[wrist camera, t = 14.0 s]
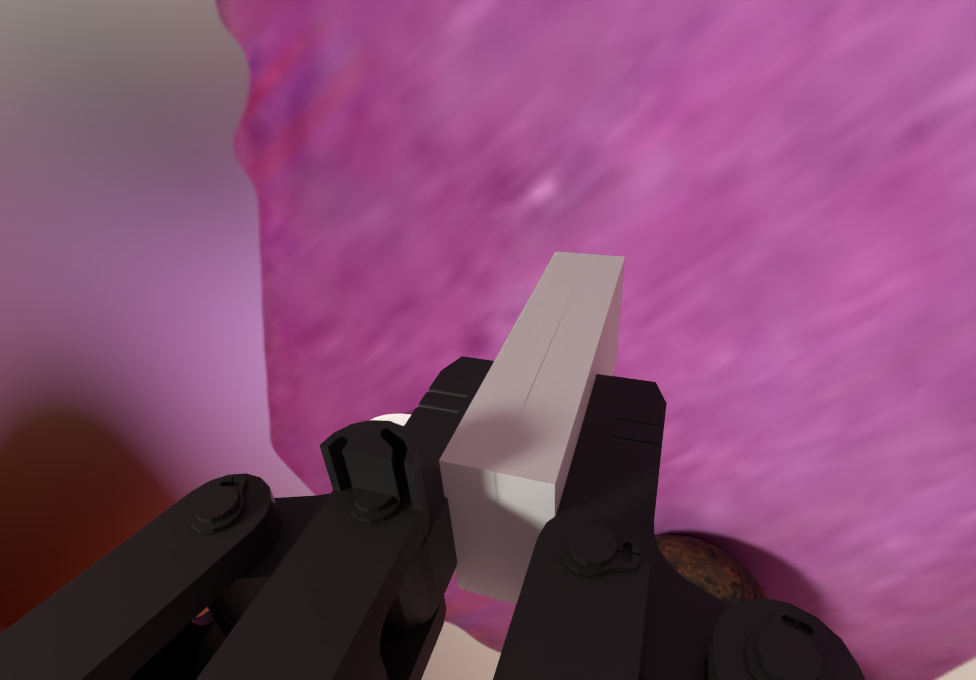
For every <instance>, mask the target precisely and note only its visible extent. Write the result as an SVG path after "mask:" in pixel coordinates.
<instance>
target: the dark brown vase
mask: <svg viewBox="0 0 976 680" xmlns="http://www.w3.org/2000/svg"><path fill="white" fill-rule="evenodd" d="M655 538H656V541H657V544H658V546H659V549H660V551H661V552H662V554H663V555H664V557H665V558H666V560H667V561H668V563H669V564H670V565H671V566H672V567H673V568H674V569H675V570H676V571H677V572H678V573H679V574H680V575H681V576H682V577H684V578H685V579H687V580H688V581H690V582H691V583H693V584H694V585H696V586H697V587H699V588H701V589H702V590H704V591H706V592H708V593H710V594H711V595H713V596H715V597H717V598H719V599H720V600H722V601H724V602H726V603H728V604H730V605H731V606H733V605H734V604H736V603H737V602H739V601H743V600H750V599H757V598H767V597H766V596H765V593H764V590H763V588H762V587H761V586H760V585H759V584H758V582H757V581H756V580H755V578H754V577H753V576H752V575H751V574H750V572H749V571H748V570H747V569H746V568H745V567H744V566H743V565H742V564H741V563H739V562H738V561H737V560H736V559H735V558H734V557H732V556H731V555H729V554H728V553H727V552H725V551H723V550H722V549H720V548H718V547H716V546H714V545H712V544H710V543H708V542H705V541H702V540H700V539H696V538H693V537H688V536H682V535H656V536H655Z"/></svg>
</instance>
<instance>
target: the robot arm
mask: <svg viewBox="0 0 976 680" xmlns="http://www.w3.org/2000/svg"><path fill="white" fill-rule="evenodd" d="M624 258H625V257H620V256H607V255H594V254H581V253H568V252H555V253H554V255H553V257H552V258H551V260H550V262H549V264H548V266H547V267H546V269H545V271H544V273H543V275H542V276H541V278H540V280H539V282H538V284H537V285H536V287H535V289H534V291H533V293H532V294H531V296H530V298H529V300H528V302H527V303H526V305H525V307H524V309H523V311H522V312H521V314H520V316H519V318H518V319H517V321H516V323H515V325H514V327H513V328H512V330H511V332H510V334H509V336H508V337H507V339H506V341H505V343H504V345H503V346H502V348H501V350H500V352H499V354H498V355H497V357H496V359H495V361H490V360H483V359H476V358H470V357H463V356H462V357H460V358H459V359H457V360H456V361H454V362H453V363H452V364H450V365H449V366H447V367H446V368H444V369H443V370H441V372H440V373H439V375H438V376H437V378H436V379H435V381H434V382H433V383H432V385H431V386H430V388H429V392H428V393H427V392H426V394H425V395H424V397H423V398H422V400H421V401H420V403H419V407H418V408H416V409H415V410H414V412H413V413H412V415H411V416H410V418H409V419H408V420H407V422H406V423H405V425H404V426H402V425H399V424H397V423H394V422H391V421H382V420H369V421H364V422H359V423H355V424H351V425H349V426H347V427H345V428H343V429H341V430H339V431H337V432H335V433H333V434H332V435H331V436H330V437H328V438H327V439H326V440H325V441H324V442H323V443H322V444H321V445H320V449H321V452H322V455H323V458H324V461H325V465H326V468H327V471H328V474H329V478H330V481H331V484H332V487H333V491H332V492H331V494H324V495H318V496H303V497H287V498H286V497H285V498H274V497H273V494H272V492H271V489H270V487H269V486H268V485H267V484H266V483H265V482H264V481H263V480H262V479H261V478H260V477H256V476H253V475H250V474H232V475H226V476H223V477H220V478H217V479H214V480H211V481H209V482H207V483H205V484H203V485H202V486H200V487H198V488H197V489H195V490H193V491H192V492H190V493H189V494H187V495H186V496H185V497H183V498H182V499H181V500H179V501H178V502H177V503H175V504H174V505H173V506H171V507H170V508H169V509H168V510H166V511H165V512H163V513H162V514H161V515H159V516H158V517H157V518H155V519H154V520H153V521H151V522H150V523H149V524H147V525H146V526H145V527H143V528H142V529H141V530H139V531H138V532H136V533H135V534H134V535H132V536H131V537H130V538H129V539H127V540H126V541H124V542H123V543H122V544H120V545H119V546H118V547H116V548H115V549H114V550H112V551H111V552H110V553H108V554H107V555H106V556H104V557H103V558H102V559H100V560H99V561H98V562H96V563H95V564H94V565H92V566H91V567H90V568H88V569H87V570H86V571H84V572H83V573H82V574H80V575H79V576H78V577H76V578H75V579H74V580H72V581H71V582H69V583H68V584H67V585H65V586H64V587H63V588H61V589H60V590H59V591H57V592H56V593H55V594H53V595H52V596H51V597H50V598H48V599H47V600H45V601H44V602H43V603H41V604H40V605H39V606H37V607H36V608H35V609H33V610H32V611H31V612H29V613H28V614H27V615H25V616H24V617H23V618H21V619H20V620H19V621H17V622H16V623H15V624H13V625H12V626H10V627H9V628H8V629H6V630H5V631H4V632H2V633H1V634H0V680H421V678H422V676H423V673H424V671H425V669H426V666H427V664H428V661H429V659H430V656H431V654H432V651H433V649H434V647H435V644H436V642H437V639H438V637H439V634H440V632H441V629H442V627H443V624H444V619H445V614H446V604H445V599H444V593H445V591H446V589H447V586H448V584H449V582H450V579H451V577H452V575H453V573H454V570H455V568H456V574H457V581H458V587H459V588H460V589H463V590H467V591H470V592H474V593H477V594H481V595H484V596H488V597H492V598H495V599H499V600H502V601H506V602H509V603H513V604H516V608H515V611H514V614H513V617H512V620H511V624H510V627H509V630H508V633H507V636H506V640H505V643H504V646H503V649H502V652H501V656H500V659H499V662H498V665H497V668H496V672H495V675H494V678H493V680H865V678H864V676H863V674H862V672H861V669H860V667H859V665H858V664H857V662H856V661H855V659H854V658H853V656H852V655H851V653H850V652H849V650H848V649H847V647H846V646H845V644H844V642H843V641H842V639H840V638H839V637H838V636H837V635H836V634H835V633H834V632H833V631H832V630H830V629H829V628H828V627H827V626H826V625H825V624H824V623H823V622H821V621H820V620H819V619H818V618H817V617H815V616H813V615H811V614H809V613H807V612H805V611H804V610H802V609H800V608H798V607H796V606H794V605H792V604H790V603H786V602H781V601H776V600H771V599H767V598H757V599H750V600H743V601H739V602H737V603H736V604H734V605H733V606H731V605H730V604H728V603H726V602H724V601H722V600H720V599H719V598H717V597H715V596H713V595H711V594H710V593H708V592H706V591H704V590H702V589H701V588H699V587H697V586H696V585H694V584H693V583H691V582H690V581H688V580H687V579H685V578H684V577H682V576H681V575H680V574H679V573H678V572H677V571H676V570H675V569H674V568H673V567H672V566H671V565H670V564H669V563H668V561H667V560H666V558H665V557H664V555H663V554H662V552H661V551H660V549H659V546H658V544H657V541H656V538H655V535H654V514H655V505H656V496H657V486H658V477H659V468H660V458H661V448H662V439H663V429H664V421H665V411H666V401H665V400H664V398H663V396H662V394H661V392H660V390H659V388H658V386H657V384H656V382H650V381H643V380H636V379H629V378H622V377H615V376H613V374H614V370H615V365H616V360H617V348H618V335H619V322H620V309H621V297H622V284H623V271H624ZM206 607H208V609H209V611H208V612H207V613H205V614H204V615H202V616H200V617H196V616H197V615H198V614H199V613H201V612H202V611H203V610H204V609H205V608H206Z"/></svg>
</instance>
